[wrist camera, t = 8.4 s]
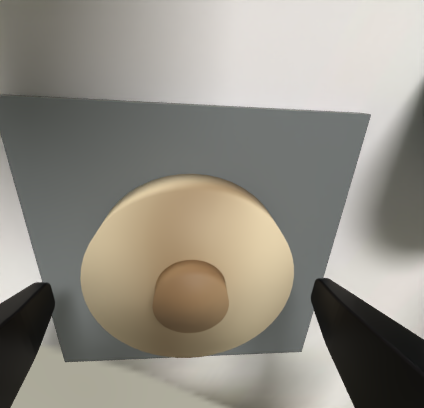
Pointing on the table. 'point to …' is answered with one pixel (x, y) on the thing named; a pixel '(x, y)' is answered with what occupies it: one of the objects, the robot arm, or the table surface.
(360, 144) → the mat
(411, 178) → the table surface
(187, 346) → the lid
